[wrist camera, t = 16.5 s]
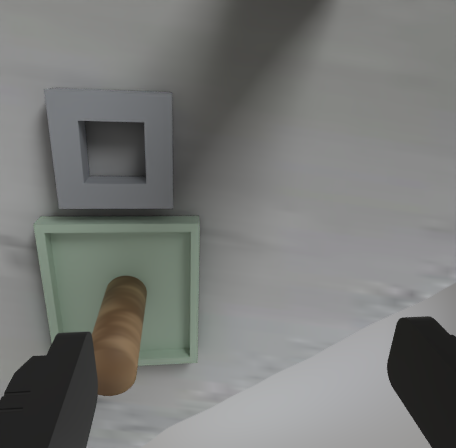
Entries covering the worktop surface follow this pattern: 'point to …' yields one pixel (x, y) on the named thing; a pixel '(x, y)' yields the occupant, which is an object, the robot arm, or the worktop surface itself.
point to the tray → (124, 266)
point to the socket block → (78, 156)
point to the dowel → (119, 335)
